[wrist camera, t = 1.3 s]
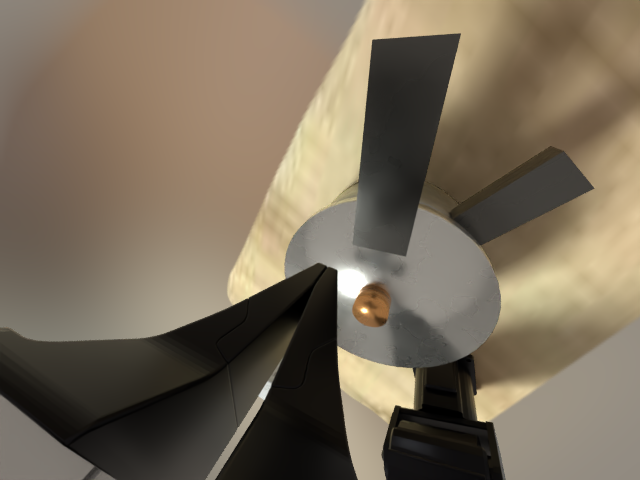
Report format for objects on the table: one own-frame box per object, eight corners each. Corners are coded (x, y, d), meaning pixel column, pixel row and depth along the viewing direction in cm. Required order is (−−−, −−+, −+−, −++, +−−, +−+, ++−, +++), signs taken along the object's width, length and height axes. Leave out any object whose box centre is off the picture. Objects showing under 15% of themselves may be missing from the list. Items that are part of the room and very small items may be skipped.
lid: (454, 380, 19) (459, 436, 16) (294, 323, 24) (273, 357, 21) (646, 45, 8) (787, 9, 5) (276, 62, 13) (225, 50, 10)
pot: (382, 318, 27) (372, 364, 23) (298, 235, 26) (269, 265, 21) (602, 227, 16) (676, 282, 11) (468, 67, 14) (487, 52, 10)
